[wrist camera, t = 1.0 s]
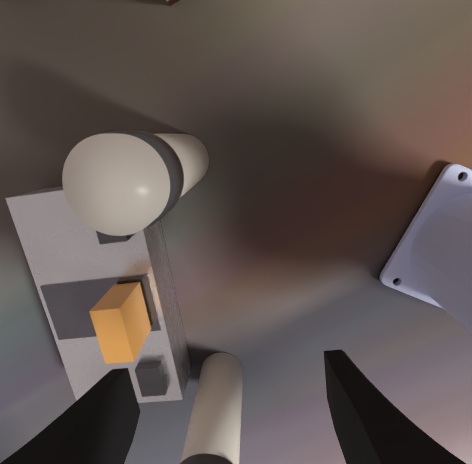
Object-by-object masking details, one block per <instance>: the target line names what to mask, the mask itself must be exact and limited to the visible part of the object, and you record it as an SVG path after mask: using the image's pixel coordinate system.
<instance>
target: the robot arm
mask: <svg viewBox="0 0 472 464" xmlns="http://www.w3.org/2000/svg"><path fill="white" fill-rule="evenodd" d="M461 172H463V178H462V179H460V180H458V175H459V174H460V173H461ZM379 277H380V281H381V282H382V283H383V284H384V285H386V286H388V287H391V288H393V289H396V290H398V291H401V292H403V293H406V294H408V295H411V296H413V297H416V298H418V299H421V300H423V301H425V302H428V303H430V304H433V305H435V306H438V307H440V308H443V309H444V310H445V311H446V312H448V313H449V314H450V315H451V316H452V317H453V318H454V319H455V320H456V321H457V322H458V323H459V324H461V325H462V326H463V327H464V328H465V329H466V330H467V331H468V332H469V333H470V334H471V335H472V170H471V169H469V168H466V167H464V166H462V165H459V164H454V163H452V164H448V165H447V166H445V167H444V169H443V170H442V172H441V174H440V175H439V177H438V179H437V180H436V182H435V184H434V185H433V187H432V189H431V190H430V192H429V194H428V195H427V197H426V199H425V200H424V202H423V204H422V205H421V207H420V209H419V210H418V212H417V214H416V215H415V217H414V219H413V220H412V222H411V224H410V225H409V227H408V229H407V230H406V232H405V234H404V235H403V237H402V239H401V240H400V242H399V244H398V245H397V247H396V249H395V250H394V252H393V254H392V255H391V257H390V259H389V260H388V262H387V264H386V265H385V267H384V269H383V270H382V272H381V274H380V276H379ZM396 278H399V280H398V281H397V282H396V283H393V280H394V279H396ZM324 361H325V374H326V388H327V399H328V403H329V408H330V412H331V416H332V420H333V425H334V429H335V432H336V434H337V437H338V440H339V443H340V446H341V449H342V452H343V455H344V458H345V461H346V464H466V463H464V462H463V461H462V460H460V459H459V458H457V457H456V456H454V455H453V454H451V453H450V452H449V451H447V450H446V449H445V448H444V447H442V446H441V445H440V444H438V443H437V442H436V441H434V440H433V439H432V438H431V437H429V436H428V435H427V434H426V433H425V432H423V431H422V430H421V429H420V428H418V427H417V426H416V425H415V424H414V423H413V422H411V421H410V420H409V419H408V418H407V417H406V416H405V415H404V414H403V413H401V412H400V411H399V410H398V409H397V408H396V407H395V406H394V405H393V404H392V403H391V402H390V401H389V400H388V399H387V398H386V397H385V396H384V395H383V394H382V393H381V392H380V391H379V390H378V389H377V388H376V387H375V386H374V385H373V384H372V383H371V382H370V381H369V380H368V379H367V378H366V377H365V376H364V374H363V373H362V372H361V371H360V370H359V369H358V368H357V367H356V365H355V364H354V363H353V362H352V361H351V359H350V358H349V357H348V356H347V355H346V353H345V352H344V351H342V350H332V351H324ZM139 415H140V409H139V405H138V402H137V398H136V395H135V391H134V388H133V384H132V381H131V377H130V374H129V370H128V368H120V369H112V370H111V371H109V372H108V373H107V374H106V375H105V376H104V377H102V378H101V379H100V380H99V381H98V382H97V383H96V384H95V385H94V386H92V387H91V388H90V389H89V390H88V391H87V392H86V393H85V394H84V395H83V396H82V397H80V398H79V399H78V400H77V401H76V402H75V403H74V404H73V405H72V406H70V407H69V408H68V409H67V410H66V411H65V412H64V413H63V414H61V415H60V416H59V417H58V418H57V419H56V420H54V421H53V422H52V423H51V424H50V425H48V426H47V427H46V428H45V429H44V430H43V431H41V432H40V433H39V434H38V435H37V436H35V437H34V438H33V439H32V440H31V441H29V442H28V443H27V444H25V445H24V446H23V447H22V448H20V449H19V450H18V451H16V452H15V453H14V454H12V455H11V456H10V457H8V458H7V459H6V460H4V461H3V462H2V463H0V464H124V462H125V459H126V457H127V454H128V452H129V449H130V446H131V444H132V441H133V437H134V434H135V430H136V427H137V423H138V419H139Z"/></svg>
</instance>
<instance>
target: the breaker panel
mask: <svg viewBox="0 0 472 464" xmlns="http://www.w3.org/2000/svg"><path fill="white" fill-rule="evenodd" d="M5 199H6V201H7V204H8V207H9V210H10V213H11V216H12V219H13V221H14V224H15V227H16V230H17V233H18V236H19V238H20V241H21V244H22V247H23V250H24V253H25V256H26V258H27V261H28V264H29V267H30V270H31V273H32V275H33V278H34V281H35V284H36V287H37V290H38V292H39V295H40V298H41V301H42V304H43V307H44V310H45V312H46V315H47V318H48V321H49V324H50V327H51V329H52V332H53V335H54V338H55V341H56V344H57V347H58V349H59V352H60V355H61V358H62V361H63V364H64V366H65V369H66V372H67V375H68V378H69V381H70V384H71V386H72V389H73V392H74V395H75V398H76V401H77V400H78V399H79V398H80V397H82V396H83V395H84V394H85V393H86V392H87V391H88V390H89V389H90V388H91V387H92V386H94V385H95V384H96V383H97V382H98V381H99V380H100V379H101V378H102V377H104V376H105V375H106V374H107V373H108V372H109V371H111V370H112V369H120V368H128V370H129V374H130V377H131V381H132V384H133V388H134V391H135V395H136V398H137V402H138V403H143V402H157V401H170V400H183V397H184V393H185V389H186V386H187V382H188V378H189V374H190V371H191V362H190V358H189V353H188V348H187V344H186V339H185V334H184V330H183V325H182V320H181V316H180V311H179V307H178V302H177V297H176V293H175V288H174V283H173V279H172V274H171V270H170V265H169V260H168V256H167V251H166V246H165V242H164V237H163V232H162V228H161V223H160V220H159V221H157V222H156V223H155V224H153V225H152V226H150V227H148V228H145V229H143V230H141V231H139V232H137V233H134V234H131V235H125V236H112V235H107V234H104V233H101V232H98V231H96V230H94V229H92V228H91V227H89V226H87V225H86V224H85V223H84V222H82V221H81V220H80V219H79V218H78V217H77V215H76V214H75V213H74V212H73V210H72V209H71V207H70V206H69V204H68V202H67V199H66V197H65V194H64V190H63V186H58V187H51V188H44V189H39V190H35V191H31V192H27V193H23V194H19V195H16V196H12V197H8V198H5ZM135 282H140V285H141V289H142V293H143V297H144V301H145V305H146V309H147V313H148V317H149V321H150V325H151V330H150V332H149V334H148V336H147V338H146V340H145V342H144V344H143V346H142V348H141V349H140V351H139V353H138V355H137V357H136V359H135V361H134V362H123V363H111V364H105V361H104V358H103V355H102V351H101V348H100V345H99V342H98V338H97V335H96V332H95V329H94V325H93V322H92V319H91V316H90V312H89V311H90V310H91V309H92V308H93V307H94V306H95V305H96V304H97V302H98V301H99V300H100V299H101V298H102V297H103V296H104V295H105V294H106V293H107V292H108V291H109V289H110V288H111V287H112V286H113V285H117V284H126V283H135Z"/></svg>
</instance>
